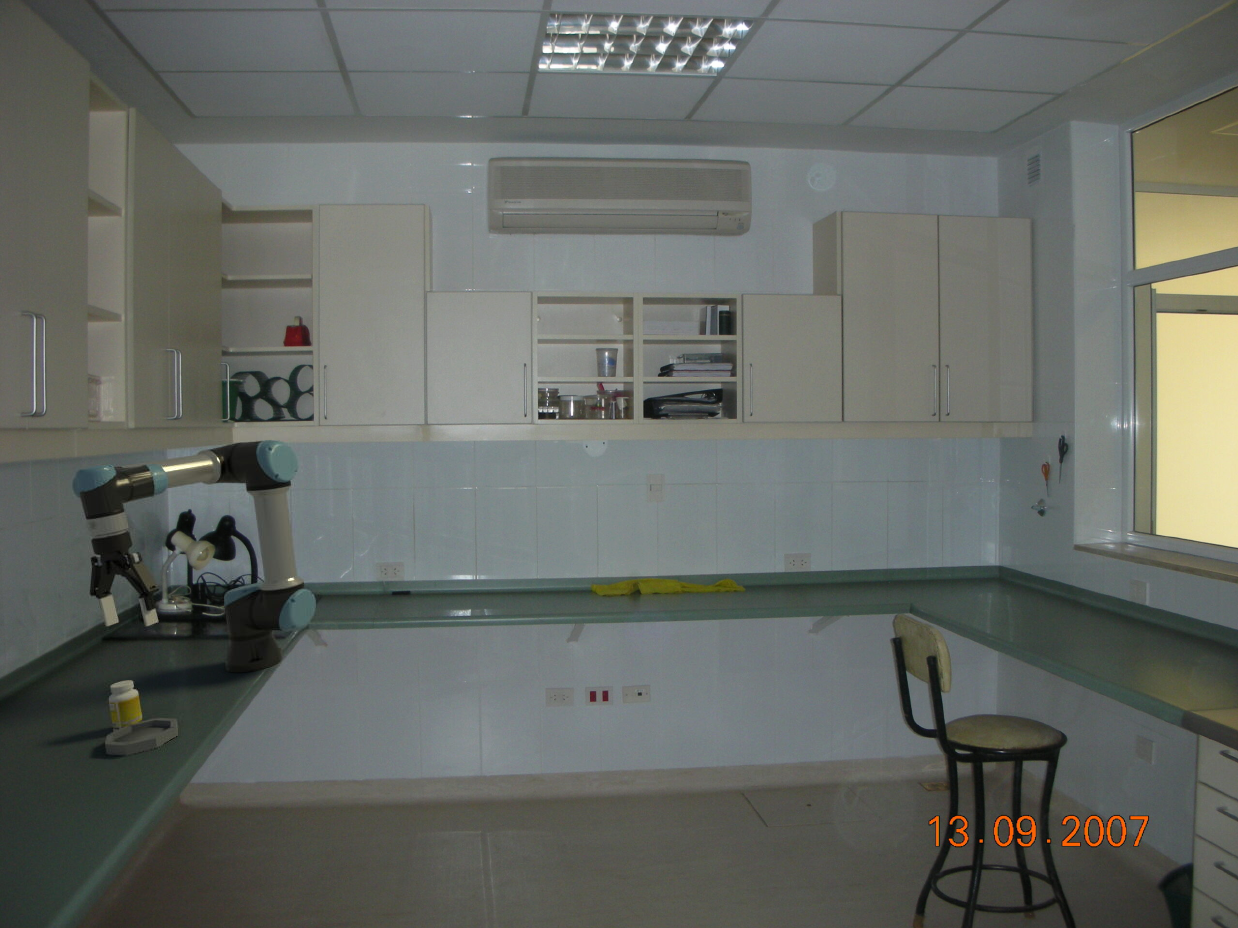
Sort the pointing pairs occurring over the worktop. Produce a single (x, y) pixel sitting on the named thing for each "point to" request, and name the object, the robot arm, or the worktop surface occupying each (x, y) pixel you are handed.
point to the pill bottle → (124, 705)
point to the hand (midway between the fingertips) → (131, 624)
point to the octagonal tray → (141, 736)
